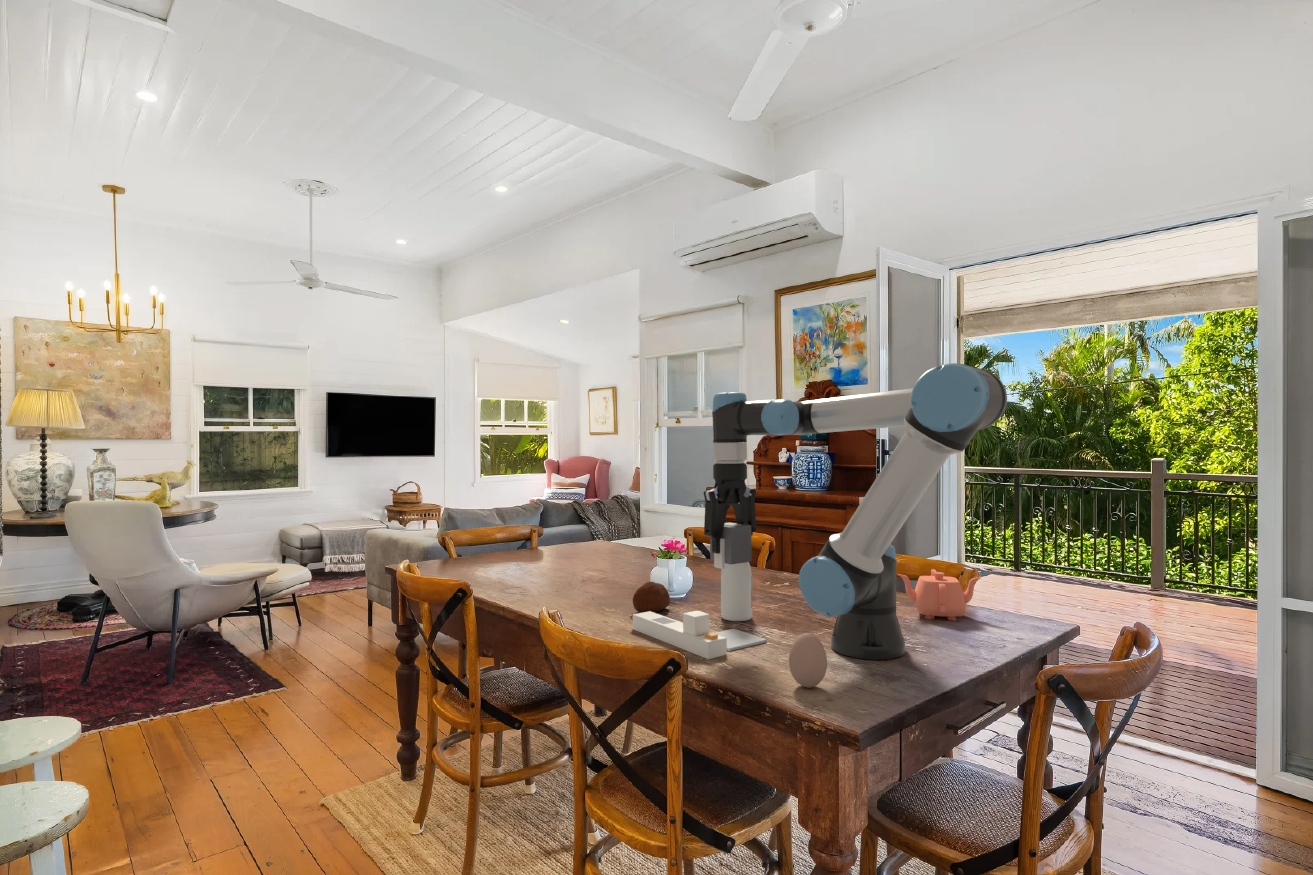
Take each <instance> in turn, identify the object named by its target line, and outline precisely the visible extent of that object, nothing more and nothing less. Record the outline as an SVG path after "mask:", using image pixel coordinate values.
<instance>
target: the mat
mask: <svg viewBox="0 0 1313 875" xmlns="http://www.w3.org/2000/svg"><path fill="white" fill-rule="evenodd" d="M714 633H715V634H718V635H720V636H722V637H725V638H727V651H728V652H731V651H735V650H740V649H744V648H748V647H753V646H757V645H760V644H766V643H768V640H767V639H766V638H763V637H760V636H757V635H754V634H751V633H748V632H745V631H742V630H739V629H736V628H731V629H725V630H721V631H716V632H714Z"/></svg>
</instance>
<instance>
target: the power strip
mask: <svg viewBox="0 0 1313 875" xmlns="http://www.w3.org/2000/svg"><path fill="white" fill-rule="evenodd" d="M632 630H634V631H636V632H638V633H642V634H644V635H646V636H648V637H652V638H654V639H657V640H659V641H661V642H664V643H666V644H669V645H672V646H674V647H677V648H679V649H682V650H684V651H687V652H689V653H692V654H694V655H696V656H699V657H702V658H704V659H706V660H710V659H711V660H712V659H715V658H719V657H723V656H727V655H728V653H727V638H725V637H722V636H720V635H718V634H715V633H716V632H711V631H709V632H708V633H705V634H702V635H698V636H693V635H690V634H688V633H685V632H683V621H679V620H676V619H673V618H671V617H667V616H665V615H663V614H660V613H657V612H651V611H649V612H643V613H642V612H638V613H632Z"/></svg>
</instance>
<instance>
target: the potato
mask: <svg viewBox="0 0 1313 875" xmlns="http://www.w3.org/2000/svg"><path fill="white" fill-rule="evenodd" d="M670 602H671V597H670V594H669V590H668V589H667V588H666V586H665V585H663V584H661V583H659V582H655V581H647V582H645V583H644V584H643V585H641V586H639V587H638V588H637V589H636V590H635V592H634V593H633V596H632V606H633V608H634V609H635V611H636V612H638V613H643V612H649V611H651V612H654V613H657V612H659V611H663V610H665V609H667V608H668V607H669V606H670Z"/></svg>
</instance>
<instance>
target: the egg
mask: <svg viewBox="0 0 1313 875" xmlns="http://www.w3.org/2000/svg"><path fill="white" fill-rule="evenodd" d="M788 655H789V656H788V667H789V671H790V674H791V676H792V677H793V679H794V680H795V682H796V683H797V684H799V685H800V686H801V687H804V688H806V689H807V688H815V687H817V686H818V685H819V684H820V683H821V682H822V681H823V680H824V678H825V676H826V674H827V669H828V659H827V653H826V650H825V648H824V646H823V644H822V641H821V640H820V639H819V638H818V637H817V636H816V635H814V634H813V633H811V632H805V633H802V634H800V635H799V636H797V637H796V638H795V640H794V641H793V644H792V646H791V648H790V651H789V654H788Z"/></svg>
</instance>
